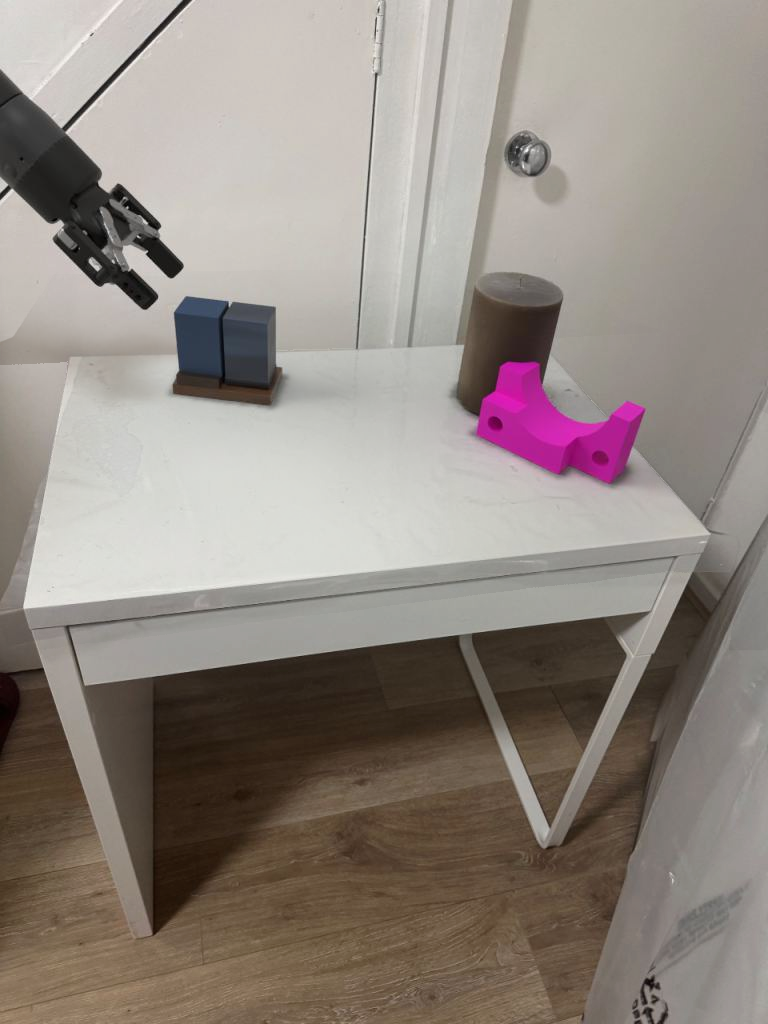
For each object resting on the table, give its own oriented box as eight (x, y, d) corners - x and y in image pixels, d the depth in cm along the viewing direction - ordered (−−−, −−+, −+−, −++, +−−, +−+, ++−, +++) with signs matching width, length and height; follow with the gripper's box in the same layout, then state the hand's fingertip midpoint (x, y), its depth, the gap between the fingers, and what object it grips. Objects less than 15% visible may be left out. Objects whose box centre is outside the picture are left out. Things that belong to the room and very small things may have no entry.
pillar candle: (510, 430, 85) (539, 303, 75) (439, 397, 89) (458, 273, 80) (552, 399, 91) (583, 278, 82) (484, 370, 95) (506, 251, 86)
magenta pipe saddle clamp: (475, 434, 84) (487, 373, 79) (505, 413, 88) (518, 355, 83) (598, 494, 77) (619, 431, 72) (624, 468, 81) (645, 408, 76)
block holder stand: (270, 405, 85) (269, 329, 79) (173, 393, 85) (165, 316, 79) (282, 376, 90) (282, 302, 84) (190, 365, 90) (184, 290, 84)
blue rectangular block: (222, 384, 85) (218, 318, 80) (179, 379, 85) (172, 312, 80) (232, 365, 88) (229, 300, 83) (190, 360, 89) (185, 295, 84)
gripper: (26, 152, 67) (167, 293, 73) (90, 117, 78) (207, 243, 85) (-19, 207, 70) (120, 337, 77) (49, 166, 81) (165, 283, 88)
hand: (166, 288), depth 81 cm, fingers open, 8 cm apart
